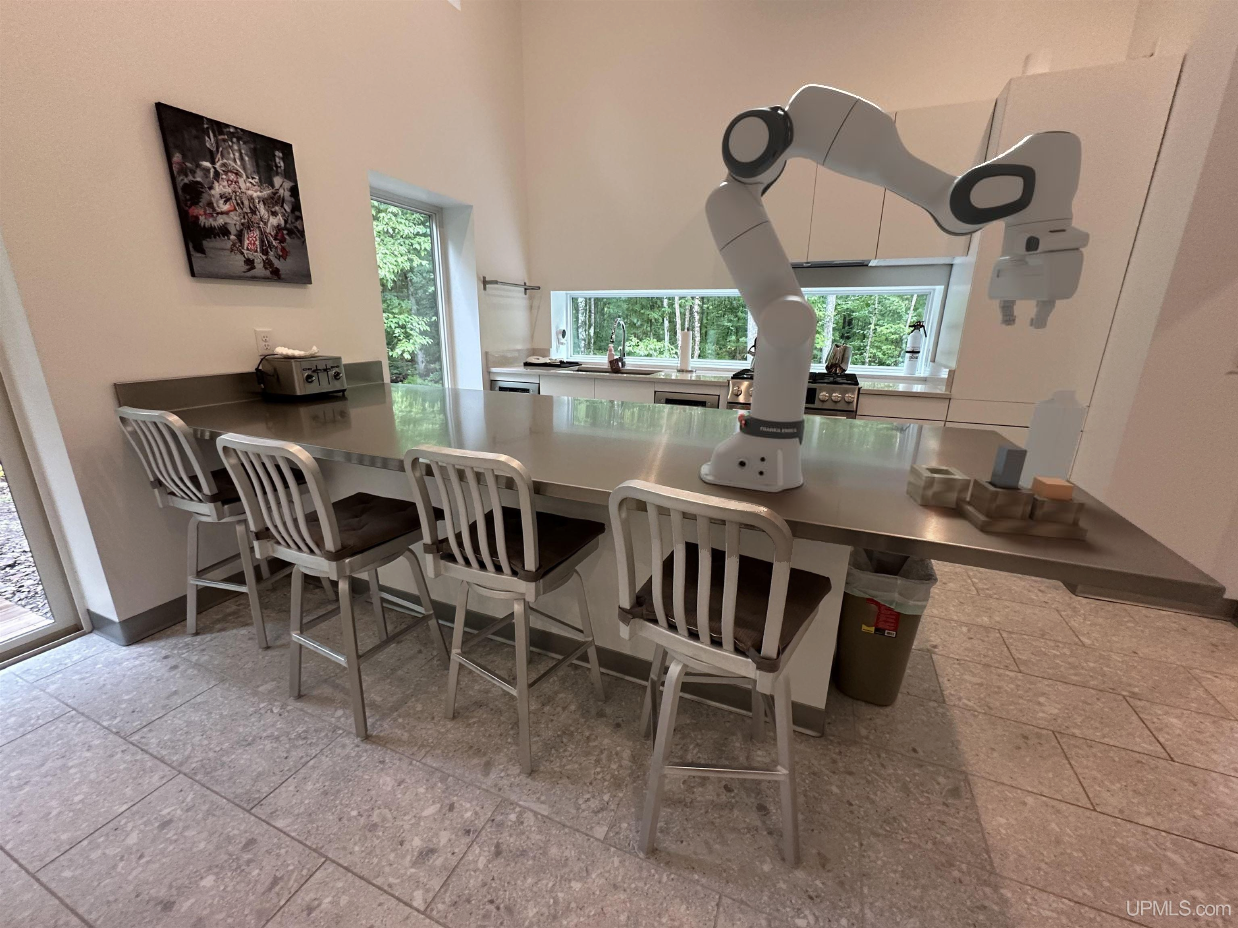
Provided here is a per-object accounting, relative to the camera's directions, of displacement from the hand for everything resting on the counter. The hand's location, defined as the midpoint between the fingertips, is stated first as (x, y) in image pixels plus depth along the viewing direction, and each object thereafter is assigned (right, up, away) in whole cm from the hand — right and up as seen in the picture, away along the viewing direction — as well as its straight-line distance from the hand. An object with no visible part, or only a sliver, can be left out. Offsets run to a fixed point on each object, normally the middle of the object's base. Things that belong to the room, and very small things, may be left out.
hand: (1021, 327), depth 89 cm
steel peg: (-3, -33, +2) cm, 33 cm away
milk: (+18, -31, +19) cm, 40 cm away
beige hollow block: (-7, -32, +13) cm, 35 cm away
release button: (+4, -31, 0) cm, 31 cm away
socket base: (0, -35, +2) cm, 35 cm away
